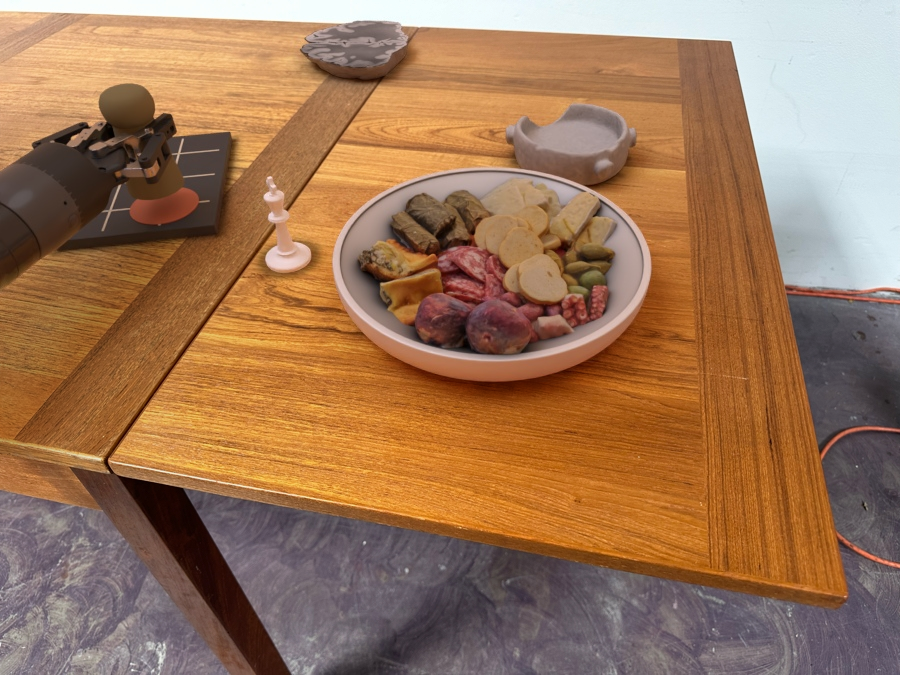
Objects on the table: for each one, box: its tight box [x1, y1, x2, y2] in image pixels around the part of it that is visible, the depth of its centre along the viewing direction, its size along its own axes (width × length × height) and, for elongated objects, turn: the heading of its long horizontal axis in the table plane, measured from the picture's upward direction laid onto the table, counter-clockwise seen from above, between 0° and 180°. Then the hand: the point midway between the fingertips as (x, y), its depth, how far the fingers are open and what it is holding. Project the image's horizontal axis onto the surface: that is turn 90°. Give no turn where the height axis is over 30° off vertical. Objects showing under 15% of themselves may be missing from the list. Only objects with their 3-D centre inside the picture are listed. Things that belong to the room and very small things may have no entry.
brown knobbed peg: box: [97, 82, 184, 200], centre depth 70 cm, size 6×6×11 cm
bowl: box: [331, 166, 652, 383], centre depth 64 cm, size 30×30×8 cm
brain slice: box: [299, 20, 410, 81], centre depth 107 cm, size 20×17×3 cm
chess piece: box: [263, 175, 312, 274], centre depth 67 cm, size 5×5×10 cm
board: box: [56, 131, 233, 252], centre depth 80 cm, size 17×22×2 cm
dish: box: [504, 102, 638, 186], centre depth 82 cm, size 14×14×5 cm
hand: (152, 119), depth 71 cm, fingers closed on brown knobbed peg, 4 cm apart
